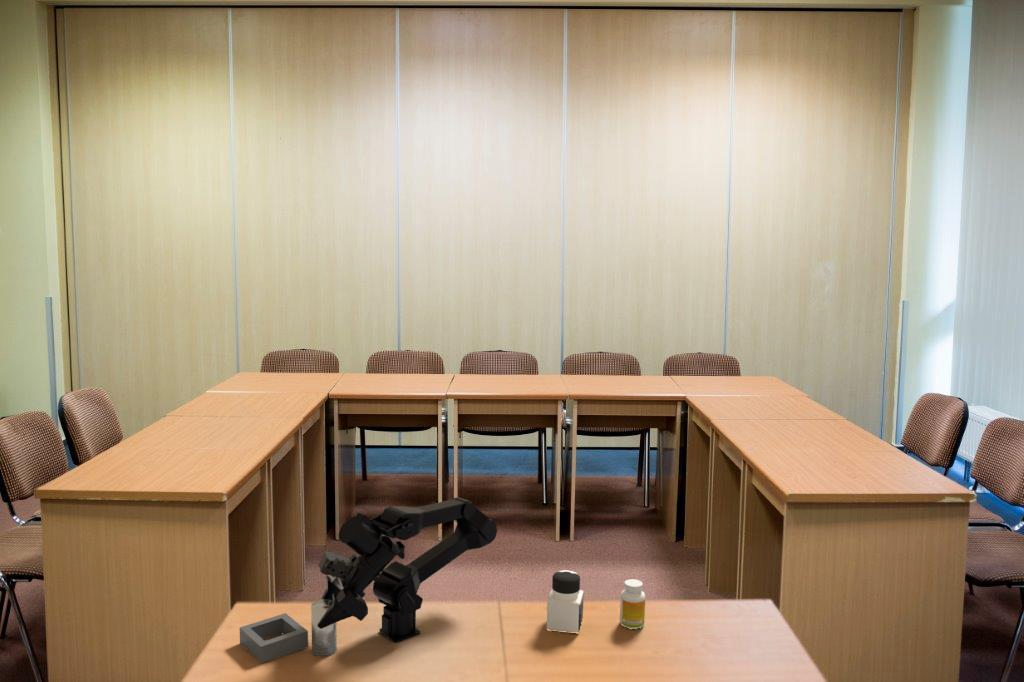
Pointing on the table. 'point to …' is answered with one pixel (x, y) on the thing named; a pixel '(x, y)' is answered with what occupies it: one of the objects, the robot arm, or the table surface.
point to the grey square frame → (275, 647)
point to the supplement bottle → (632, 604)
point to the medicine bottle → (565, 602)
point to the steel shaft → (322, 630)
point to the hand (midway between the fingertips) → (317, 621)
